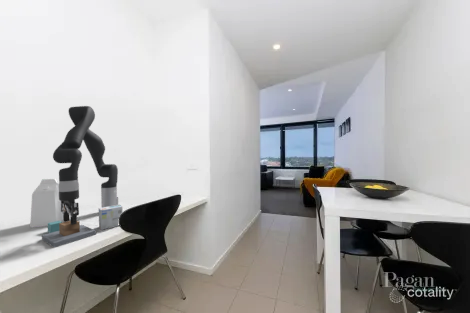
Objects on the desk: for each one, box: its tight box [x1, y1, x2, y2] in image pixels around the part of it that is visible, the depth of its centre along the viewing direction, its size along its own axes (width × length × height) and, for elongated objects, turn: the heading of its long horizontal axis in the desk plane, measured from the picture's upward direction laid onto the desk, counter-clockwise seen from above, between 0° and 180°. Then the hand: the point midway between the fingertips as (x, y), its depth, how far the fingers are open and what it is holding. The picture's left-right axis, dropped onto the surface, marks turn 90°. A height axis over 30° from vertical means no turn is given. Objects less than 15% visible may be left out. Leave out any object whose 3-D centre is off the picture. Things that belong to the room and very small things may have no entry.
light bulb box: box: [98, 204, 124, 231], centre depth 110 cm, size 11×7×11 cm, turn 135°
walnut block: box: [59, 220, 81, 236], centre depth 96 cm, size 6×6×5 cm
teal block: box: [47, 221, 63, 233], centre depth 103 cm, size 4×4×4 cm
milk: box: [29, 178, 64, 228], centre depth 116 cm, size 12×12×26 cm
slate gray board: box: [41, 224, 97, 248], centre depth 96 cm, size 16×16×2 cm
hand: (70, 222), depth 96 cm, fingers open, 8 cm apart
